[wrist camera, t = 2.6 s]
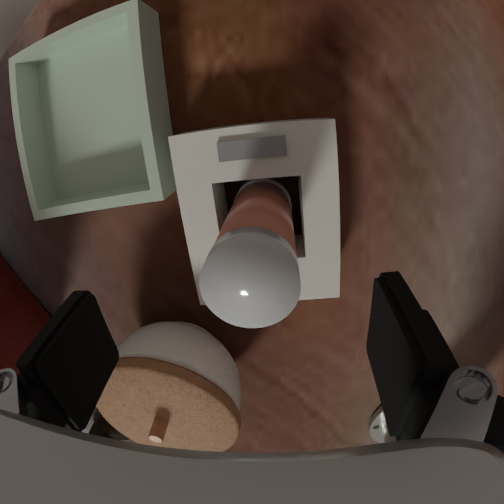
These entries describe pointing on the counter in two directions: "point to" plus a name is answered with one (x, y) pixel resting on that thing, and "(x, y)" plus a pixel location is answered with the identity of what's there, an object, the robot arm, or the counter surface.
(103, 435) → the hand tool
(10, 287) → the plant pot
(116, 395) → the lidded bowl
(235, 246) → the cylinder
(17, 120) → the parts tray
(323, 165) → the block
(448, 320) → the counter surface
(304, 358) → the counter surface
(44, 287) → the counter surface
